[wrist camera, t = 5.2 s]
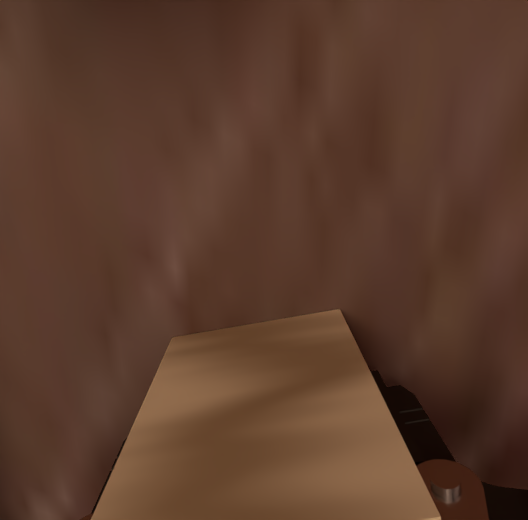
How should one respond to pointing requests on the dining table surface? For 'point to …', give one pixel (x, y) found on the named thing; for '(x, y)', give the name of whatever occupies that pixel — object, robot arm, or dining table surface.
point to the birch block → (266, 432)
